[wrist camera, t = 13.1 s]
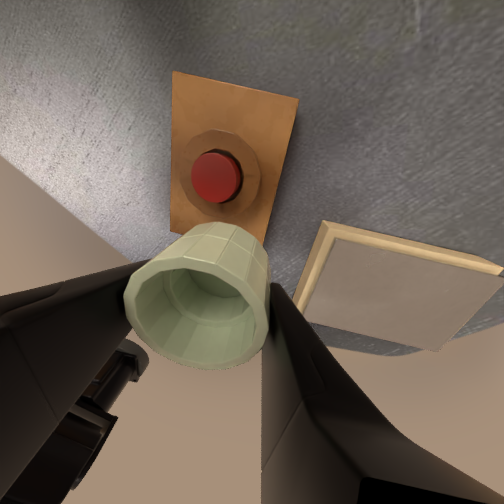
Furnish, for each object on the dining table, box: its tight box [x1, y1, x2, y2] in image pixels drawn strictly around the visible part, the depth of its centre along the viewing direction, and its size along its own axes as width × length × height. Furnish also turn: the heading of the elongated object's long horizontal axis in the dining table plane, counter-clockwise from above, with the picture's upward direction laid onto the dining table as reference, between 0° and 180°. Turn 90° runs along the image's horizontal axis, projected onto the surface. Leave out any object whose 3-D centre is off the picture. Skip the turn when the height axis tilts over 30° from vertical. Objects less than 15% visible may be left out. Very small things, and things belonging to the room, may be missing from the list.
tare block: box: [170, 71, 299, 246], centre depth 16 cm, size 12×9×4 cm
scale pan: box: [301, 237, 504, 352], centre depth 17 cm, size 9×14×1 cm, turn 78°
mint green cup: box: [123, 222, 271, 370], centre depth 8 cm, size 5×5×4 cm
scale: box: [292, 220, 504, 313], centre depth 19 cm, size 10×15×2 cm
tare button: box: [191, 153, 240, 203], centre depth 14 cm, size 3×3×2 cm
